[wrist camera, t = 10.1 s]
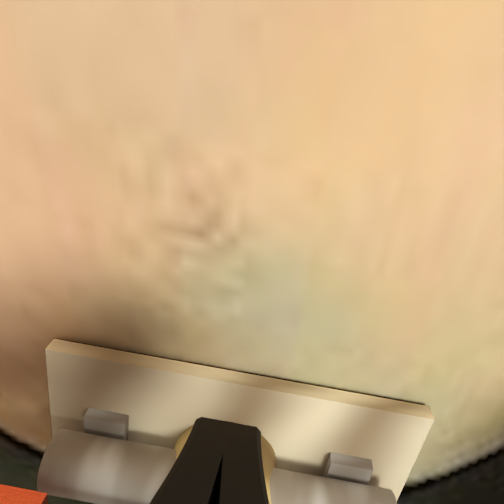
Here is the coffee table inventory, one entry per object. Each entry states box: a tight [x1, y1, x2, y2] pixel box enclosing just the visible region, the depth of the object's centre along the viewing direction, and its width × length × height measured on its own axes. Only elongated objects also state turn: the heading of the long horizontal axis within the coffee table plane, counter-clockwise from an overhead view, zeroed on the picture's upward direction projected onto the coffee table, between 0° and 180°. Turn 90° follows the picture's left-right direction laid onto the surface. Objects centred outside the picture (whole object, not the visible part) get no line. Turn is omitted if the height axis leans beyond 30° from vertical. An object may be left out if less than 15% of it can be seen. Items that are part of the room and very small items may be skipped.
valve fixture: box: [37, 339, 434, 504], centre depth 21 cm, size 18×10×5 cm, turn 82°
